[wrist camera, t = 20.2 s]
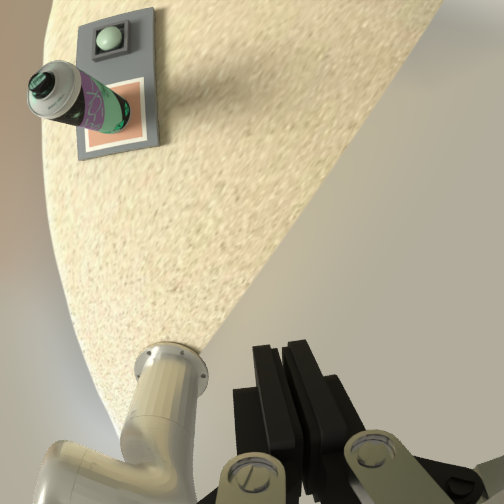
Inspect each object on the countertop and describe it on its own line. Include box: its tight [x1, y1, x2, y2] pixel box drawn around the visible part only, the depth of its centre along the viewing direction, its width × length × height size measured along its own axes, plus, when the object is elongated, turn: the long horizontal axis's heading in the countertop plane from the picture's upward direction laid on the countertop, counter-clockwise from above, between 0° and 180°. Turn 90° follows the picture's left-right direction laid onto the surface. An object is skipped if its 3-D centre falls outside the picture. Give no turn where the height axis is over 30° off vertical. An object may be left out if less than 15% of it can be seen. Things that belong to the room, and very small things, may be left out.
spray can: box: [27, 60, 132, 134], centre depth 27 cm, size 6×6×20 cm
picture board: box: [76, 7, 160, 161], centre depth 35 cm, size 22×12×3 cm, turn 5°
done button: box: [96, 27, 123, 52], centre depth 32 cm, size 4×4×2 cm
